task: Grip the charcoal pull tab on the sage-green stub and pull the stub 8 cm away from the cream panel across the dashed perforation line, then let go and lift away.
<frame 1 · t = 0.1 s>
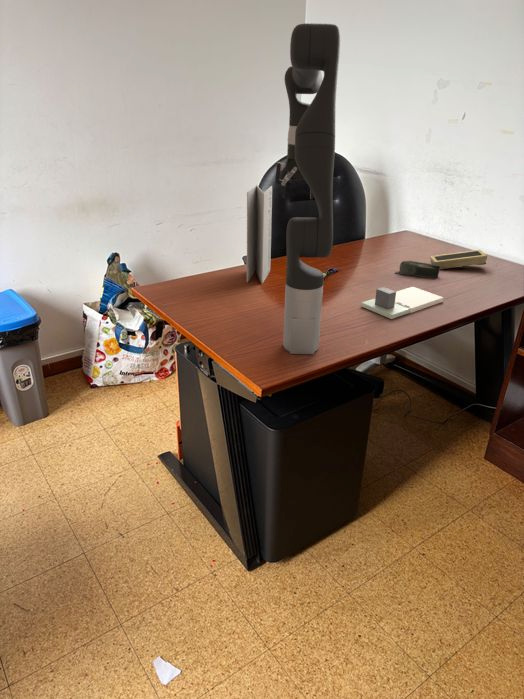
hand: (297, 198, 163), 29 cm above the table, tool pointing down, fingers open, 8 cm apart
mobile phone: (416, 276, 190), on the table
cream panel: (398, 305, 163), on the table
stub: (385, 299, 158), point 3 cm above the table, slide at 0.0 cm
brochure: (258, 276, 186), on the table
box: (452, 268, 199), on the table
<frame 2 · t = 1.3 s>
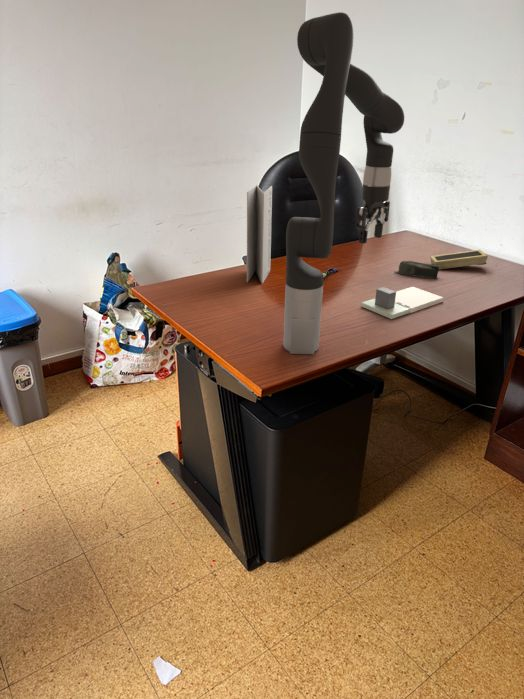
hand: (370, 240, 154), 20 cm above the table, tool pointing down, fingers open, 8 cm apart
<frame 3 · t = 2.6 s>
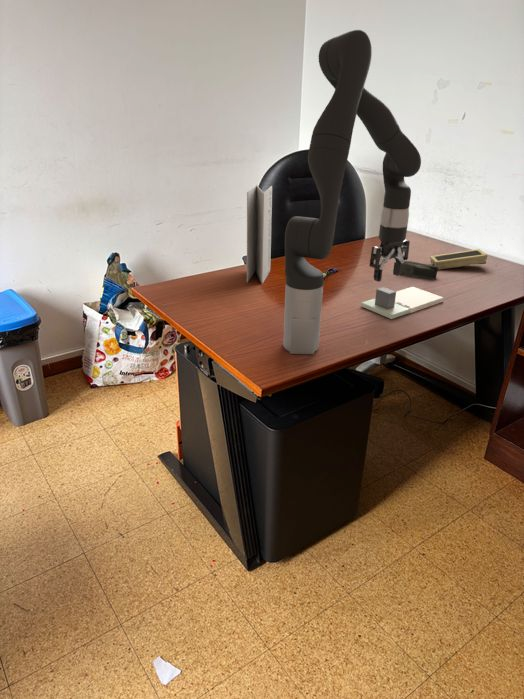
hand: (386, 277, 155), 10 cm above the table, tool pointing down, fingers open, 8 cm apart
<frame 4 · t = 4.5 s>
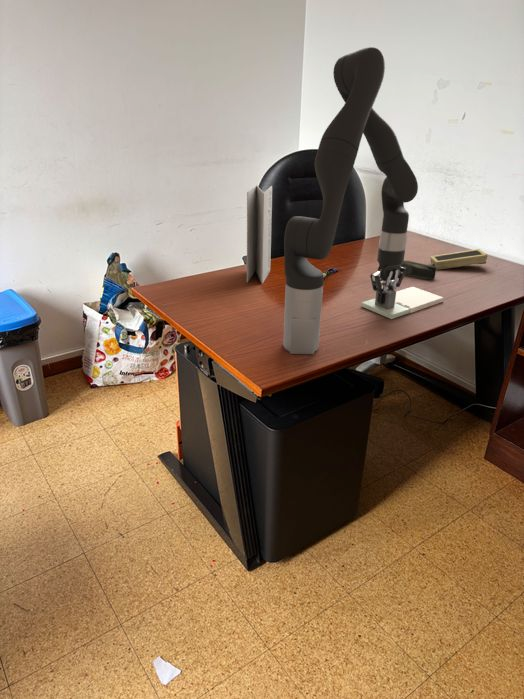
hand: (384, 302, 158), 3 cm above the table, tool pointing down, fingers closed on stub, 3 cm apart
stub: (386, 299, 158), point 3 cm above the table, slide at 0.0 cm, touching gripper
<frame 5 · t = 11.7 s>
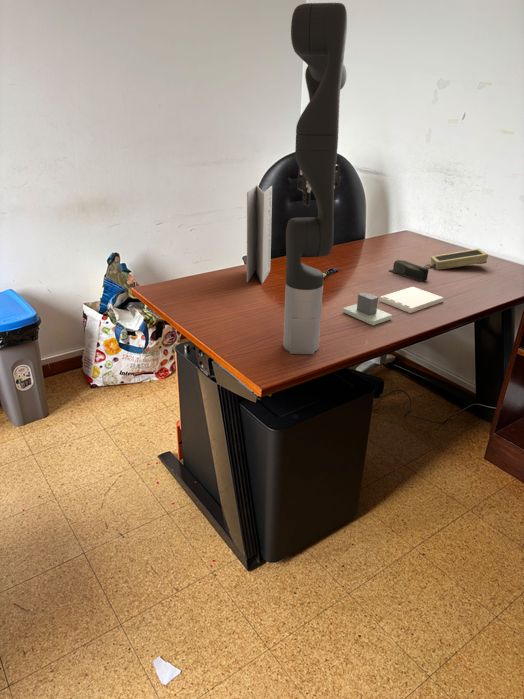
hand: (317, 204, 152), 30 cm above the table, tool pointing down, fingers open, 8 cm apart
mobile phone: (407, 276, 189), on the table
stub: (368, 305, 154), point 3 cm above the table, slide at 7.9 cm
everything else where it was.
at the end: stub slide at 7.9 cm; the gripper is holding nothing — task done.
